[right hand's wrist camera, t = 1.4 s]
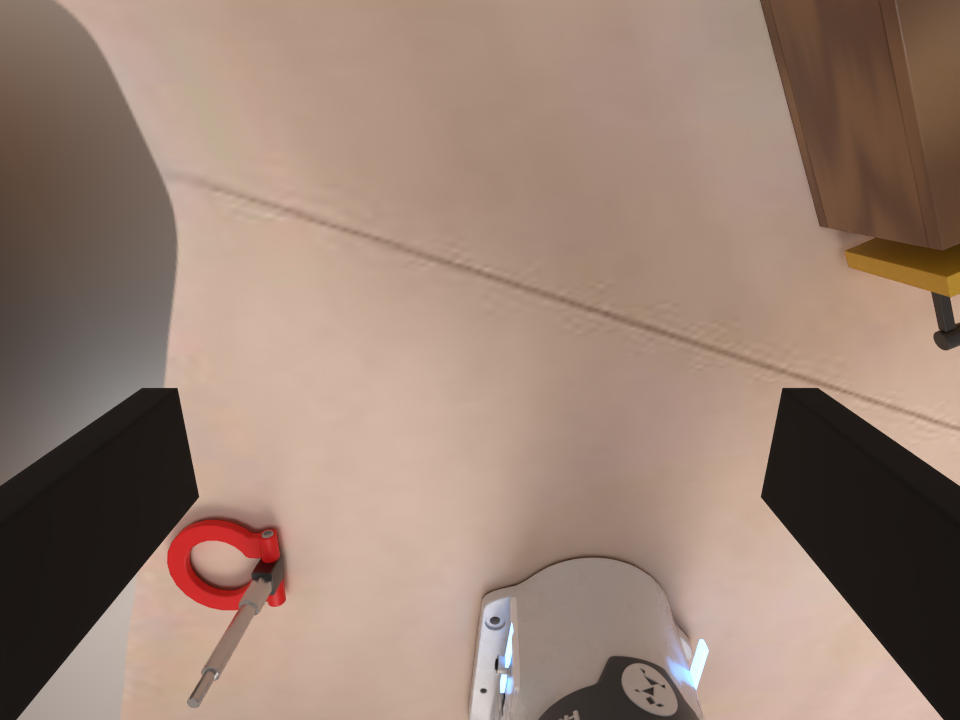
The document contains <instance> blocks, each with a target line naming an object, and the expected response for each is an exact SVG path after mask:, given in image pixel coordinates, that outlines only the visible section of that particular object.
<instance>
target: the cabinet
mask: <svg viewBox="0 0 960 720" xmlns="http://www.w3.org/2000/svg"><path fill="white" fill-rule="evenodd" d="M761 4H762V7H763V11H764V15H765V19H766V23H767V26H768V30H769V34H770V38H771V42H772V45H773V49H774V53H775V57H776V61H777V64H778V68H779V72H780V76H781V80H782V83H783V87H784V91H785V95H786V99H787V102H788V106H789V110H790V114H791V118H792V121H793V125H794V129H795V133H796V137H797V140H798V144H799V148H800V152H801V156H802V159H803V163H804V167H805V171H806V175H807V178H808V182H809V186H810V190H811V194H812V198H813V201H814V205H815V209H816V213H817V217H818V220H819V224H820V226H821V227H826V228H832V229H837V230H842V231H847V232H852V233H857V234H862V235H867V236H872V237H877V238H882V239H887V240H892V241H897V242H902V243H907V244H912V245H917V246H922V247H927V248H929V247H930V248H933V249H938V250H945V249H947V248H950V247H952V246H954V245H957V244H959V243H960V0H761Z"/></svg>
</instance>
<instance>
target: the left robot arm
mask: <svg viewBox="0 0 960 720" xmlns="http://www.w3.org/2000/svg"><path fill="white" fill-rule="evenodd" d="M492 617H497V618H492ZM692 654H693V651H692V648H691V644H690V641H689V639H688V637H687V636H686V635H685V633H684V632H683V631H682V630H681V629H680V628H679V627H678V626H677V625H676V624H675V622H674V619H673V616H672V611H671V607H670V604H669V601H668V598H667V596H666V594H665V592H664V591H663V589H662V588H661V587H660V585H659V584H658V583H657V582H656V581H655V580H654V579H653V578H652V577H651V576H649V575H648V574H647V573H645V572H644V571H642V570H640V569H639V568H637V567H635V566H632V565H630V564H627V563H625V562H621V561H618V560H613V559H607V558H579V559H573V560H568V561H564V562H560V563H557V564H555V565H552V566H550V567H547V568H545V569H543V570H541V571H540V572H538V573H536V574H535V575H533V576H532V577H530V578H529V579H527V580H526V581H524V582H522V583H520V584H518V585H516V586H511V587H507V588H502V589H499V590H495V591H492V592H490V593H488V594H487V595H485V596H484V598H483V600H482V603H481V611H480V619H479V627H478V635H477V643H476V651H475V659H474V668H473V676H472V684H471V692H470V700H469V709H468V719H469V720H705V719H704V715H703V711H702V708H701V705H700V701H699V698H698V694H697V691H696V689H697V685H698V682H699V679H700V676H701V673H702V670H703V666H704V663H705V660H706V657H707V654H708V648H707V646H706V644H705V642H704V640H699V644H698V647H697V650H696V654H695V657H694V660H693V663H692V667H691V670H690V668H689V664H688V661H689V660H690V659H691V657H692Z"/></svg>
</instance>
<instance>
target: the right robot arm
mask: <svg viewBox="0 0 960 720" xmlns="http://www.w3.org/2000/svg"><path fill="white" fill-rule="evenodd" d="M198 498H199V494H198V489H197V484H196V479H195V474H194V469H193V464H192V459H191V454H190V449H189V444H188V439H187V434H186V429H185V424H184V419H183V414H182V409H181V404H180V399H179V394H178V389H177V388H142V389H140V390H139V391H137V392H136V393H134V394H133V395H131V396H130V397H129V398H127V399H126V400H124V401H123V402H121V403H120V404H118V405H117V406H115V407H114V408H113V409H111V410H110V411H108V412H107V413H105V414H104V415H103V416H101V417H100V418H98V419H97V420H95V421H94V422H92V423H91V424H89V425H88V426H87V427H85V428H84V429H82V430H81V431H79V432H78V433H76V434H75V435H74V436H72V437H71V438H69V439H68V440H66V441H65V442H63V443H62V444H61V445H59V446H58V447H56V448H55V449H53V450H52V451H50V452H49V453H47V454H46V455H45V456H43V457H42V458H40V459H39V460H37V461H36V462H35V463H33V464H32V465H30V466H29V467H27V468H26V469H24V470H23V471H21V472H20V473H19V474H17V475H16V476H14V477H13V478H11V479H10V480H8V481H7V482H6V483H4V484H3V485H1V486H0V720H16V719H17V718H18V717H19V716H20V715H21V713H22V712H23V711H24V710H25V709H26V707H27V706H28V705H29V704H30V702H31V701H32V700H33V699H34V698H35V696H36V695H37V694H38V693H39V691H40V690H41V689H42V688H43V687H44V685H45V684H46V683H47V682H48V681H49V679H50V678H51V677H52V676H53V674H54V673H55V672H56V671H57V670H58V668H59V667H60V666H61V665H62V663H63V662H64V661H65V660H66V659H67V657H68V656H69V655H70V654H71V652H72V651H73V650H74V649H75V648H76V646H77V645H78V644H79V643H80V642H81V640H82V639H83V638H84V637H85V635H86V634H87V633H88V632H89V631H90V629H91V628H92V627H93V626H94V624H95V623H96V622H97V621H98V620H99V618H100V617H101V616H102V615H103V613H104V612H105V611H106V610H107V609H108V607H109V606H110V605H111V604H112V602H113V601H114V600H115V599H116V598H117V596H118V595H119V594H120V593H121V591H122V590H123V589H124V588H125V587H126V585H127V584H128V583H129V582H130V581H131V579H132V578H133V577H134V576H135V574H136V573H137V572H138V571H139V570H140V568H141V567H142V566H143V565H144V564H145V562H146V561H147V560H148V559H149V557H150V556H151V555H152V554H153V553H154V551H155V550H156V549H157V548H158V546H159V545H160V544H161V543H162V542H163V540H164V539H165V538H166V537H167V535H168V534H169V533H170V532H171V531H172V529H173V528H174V527H175V526H176V525H177V523H178V522H179V521H180V520H181V518H182V517H183V516H184V515H185V514H186V512H187V511H188V510H189V509H190V507H191V506H192V505H193V504H194V503H195V501H196V500H197V499H198ZM761 498H762V499H763V500H764V501H765V503H766V504H767V505H768V506H769V507H770V509H771V510H772V511H773V512H774V514H775V515H776V516H777V517H778V518H779V520H780V521H781V522H782V523H783V525H784V526H785V527H786V528H787V529H788V531H789V532H790V533H791V534H792V535H793V537H794V538H795V539H796V540H797V542H798V543H799V544H800V545H801V546H802V548H803V549H804V550H805V551H806V553H807V554H808V555H809V556H810V557H811V559H812V560H813V561H814V562H815V564H816V565H817V566H818V567H819V568H820V570H821V571H822V572H823V573H824V574H825V576H826V577H827V578H828V579H829V581H830V582H831V583H832V584H833V585H834V587H835V588H836V589H837V590H838V592H839V593H840V594H841V595H842V596H843V598H844V599H845V600H846V601H847V603H848V604H849V605H850V606H851V607H852V609H853V610H854V611H855V612H856V613H857V615H858V616H859V617H860V618H861V620H862V621H863V622H864V623H865V624H866V626H867V627H868V628H869V629H870V631H871V632H872V633H873V634H874V635H875V637H876V638H877V639H878V640H879V642H880V643H881V644H882V645H883V646H884V648H885V649H886V650H887V651H888V652H889V654H890V655H891V656H892V657H893V659H894V660H895V661H896V662H897V663H898V665H899V666H900V667H901V668H902V670H903V671H904V672H905V673H906V674H907V676H908V677H909V678H910V679H911V681H912V682H913V683H914V684H915V685H916V687H917V688H918V689H919V690H920V691H921V693H922V694H923V695H924V696H925V698H926V699H927V700H928V701H929V702H930V704H931V705H932V706H933V707H934V709H935V710H936V711H937V712H938V713H939V715H940V716H941V717H942V718H943V720H960V486H959V485H957V484H956V483H954V482H953V481H952V480H950V479H949V478H947V477H946V476H944V475H943V474H941V473H940V472H939V471H937V470H936V469H934V468H933V467H931V466H930V465H928V464H927V463H926V462H924V461H923V460H921V459H920V458H918V457H917V456H915V455H914V454H913V453H911V452H910V451H908V450H907V449H905V448H904V447H902V446H901V445H900V444H898V443H897V442H895V441H894V440H892V439H891V438H889V437H888V436H886V435H885V434H884V433H882V432H881V431H879V430H878V429H876V428H875V427H873V426H872V425H871V424H869V423H868V422H866V421H865V420H863V419H862V418H860V417H859V416H858V415H856V414H855V413H853V412H852V411H850V410H849V409H847V408H846V407H845V406H843V405H842V404H840V403H839V402H837V401H836V400H834V399H833V398H831V397H830V396H829V395H827V394H826V393H824V392H823V391H821V390H820V389H818V388H783V389H782V394H781V399H780V404H779V409H778V414H777V419H776V424H775V429H774V434H773V439H772V444H771V449H770V454H769V459H768V464H767V469H766V474H765V479H764V484H763V489H762V494H761Z"/></svg>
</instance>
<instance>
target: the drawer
mask: <svg viewBox="0 0 960 720" xmlns="http://www.w3.org/2000/svg"><path fill="white" fill-rule="evenodd" d="M845 254H846V258H847V262H848V266H849V267H850V268H853V269H857V270H860V271H864V272H867V273H870V274H874V275H877V276H880V277H884V278H887V279H891V280H894V281H897V282H901V283H904V284H908V285H911V286H914V287H918V288H921V289H924V290H928V291H931V293H932V298H933V302H934V307H935V312H936V317H937V322H938V327H939V329H940V331H937V332H935V333H934V336H933V337H934V341H935V343H936V344H937V346H938V347H939V348H941V349H942V350H949V349H952V348H955V347H957V346H960V323H957V324H955V322H954V317H953V311H952V306H951V301H950V297H953V296H955V295H957V294H960V243H959V244H957V245H954V246H952V247H950V248H947V249H945V250H938V249H933V248H930V247H929V248H927V247H922V246H917V245H912V244H907V243H902V242H897V241H892V240H887V239H882V238H877V237H876V238H874V239H872V240H869V241H867V242H865V243H862V244H860V245H858V246H855V247H853V248H851V249H848V250H846V251H845Z"/></svg>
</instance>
